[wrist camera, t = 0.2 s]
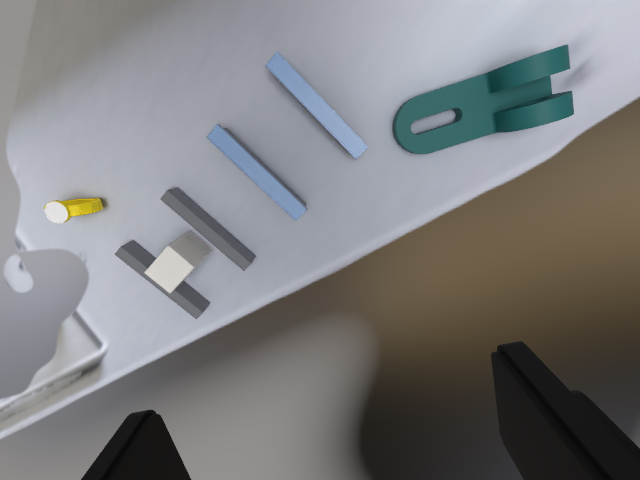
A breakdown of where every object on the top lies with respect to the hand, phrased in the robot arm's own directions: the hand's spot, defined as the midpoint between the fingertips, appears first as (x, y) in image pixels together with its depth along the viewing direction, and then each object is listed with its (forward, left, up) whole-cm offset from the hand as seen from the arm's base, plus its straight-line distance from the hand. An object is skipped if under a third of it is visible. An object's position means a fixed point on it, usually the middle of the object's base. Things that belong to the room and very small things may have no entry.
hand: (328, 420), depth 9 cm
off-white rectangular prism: (-8, -19, -37) cm, 43 cm away
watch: (-23, -24, -37) cm, 50 cm away
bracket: (+5, +19, -37) cm, 42 cm away
